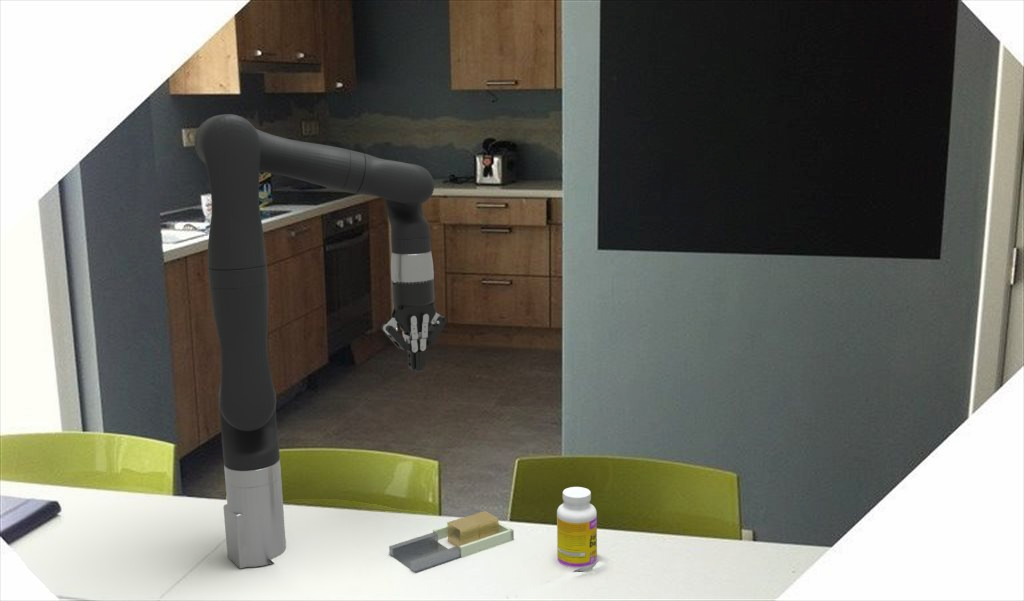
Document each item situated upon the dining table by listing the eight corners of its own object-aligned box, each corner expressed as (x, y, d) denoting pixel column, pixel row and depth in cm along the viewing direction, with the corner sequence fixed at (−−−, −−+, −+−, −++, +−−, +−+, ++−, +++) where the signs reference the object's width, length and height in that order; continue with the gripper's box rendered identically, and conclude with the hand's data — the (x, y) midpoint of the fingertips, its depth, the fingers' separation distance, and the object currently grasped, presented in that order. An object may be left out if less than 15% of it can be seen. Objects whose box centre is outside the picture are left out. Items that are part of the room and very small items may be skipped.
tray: (461, 562, 161) (461, 547, 160) (433, 544, 168) (433, 529, 167) (513, 544, 167) (513, 530, 166) (484, 528, 174) (484, 513, 174)
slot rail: (415, 578, 155) (415, 564, 155) (388, 559, 163) (388, 545, 162) (461, 562, 161) (461, 549, 160) (433, 544, 168) (433, 531, 167)
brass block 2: (480, 545, 166) (479, 524, 165) (467, 537, 169) (466, 516, 168) (498, 539, 168) (498, 518, 168) (485, 531, 171) (485, 510, 171)
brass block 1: (460, 551, 164) (459, 529, 163) (448, 543, 167) (447, 522, 166) (479, 545, 166) (479, 523, 165) (467, 537, 169) (466, 516, 168)
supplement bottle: (594, 574, 156) (594, 501, 153) (554, 571, 157) (553, 498, 154) (599, 556, 162) (598, 485, 160) (560, 553, 163) (559, 483, 161)
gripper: (433, 270, 176) (437, 360, 179) (369, 278, 169) (374, 372, 172) (455, 275, 170) (458, 368, 173) (390, 284, 163) (394, 381, 166)
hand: (416, 370), depth 173 cm, fingers closed
